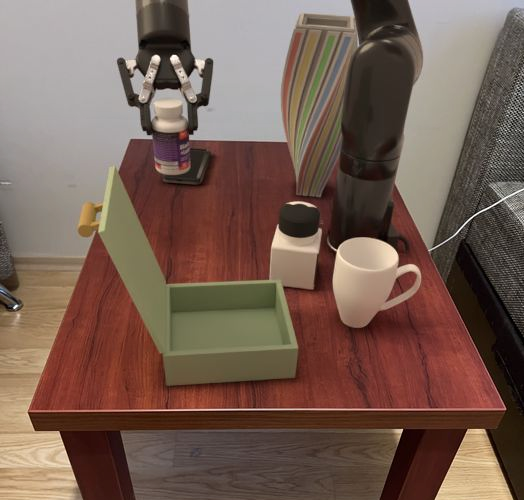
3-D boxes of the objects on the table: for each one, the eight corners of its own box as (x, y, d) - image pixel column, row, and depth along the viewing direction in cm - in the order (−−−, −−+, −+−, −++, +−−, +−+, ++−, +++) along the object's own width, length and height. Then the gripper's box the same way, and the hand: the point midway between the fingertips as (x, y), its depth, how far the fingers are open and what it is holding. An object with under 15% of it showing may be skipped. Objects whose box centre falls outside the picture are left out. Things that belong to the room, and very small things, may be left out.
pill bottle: (188, 177, 81) (184, 110, 75) (152, 175, 81) (145, 108, 75) (192, 161, 85) (189, 96, 79) (158, 160, 85) (152, 95, 79)
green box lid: (115, 165, 63) (80, 175, 64) (104, 230, 53) (63, 241, 53) (165, 281, 75) (136, 288, 76) (165, 352, 65) (131, 361, 65)
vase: (342, 178, 114) (366, 14, 94) (342, 209, 104) (369, 33, 84) (278, 172, 115) (288, 8, 94) (272, 203, 105) (282, 27, 84)
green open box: (278, 308, 81) (280, 279, 78) (295, 377, 71) (298, 348, 67) (166, 313, 79) (163, 284, 76) (166, 386, 69) (162, 355, 65)
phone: (211, 149, 119) (200, 180, 108) (211, 154, 120) (200, 185, 109) (176, 147, 119) (161, 177, 108) (176, 152, 120) (161, 182, 109)
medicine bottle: (313, 291, 85) (322, 222, 76) (268, 285, 85) (272, 217, 77) (317, 265, 90) (326, 199, 82) (275, 260, 90) (279, 193, 82)
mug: (326, 334, 77) (337, 267, 69) (327, 299, 83) (337, 234, 76) (410, 342, 77) (431, 276, 69) (405, 306, 83) (423, 241, 75)
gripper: (107, -1, 74) (115, 121, 73) (213, 0, 75) (221, 120, 75) (115, 33, 81) (122, 144, 81) (211, 33, 83) (219, 143, 82)
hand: (170, 132), depth 78 cm, fingers closed on pill bottle, 5 cm apart
